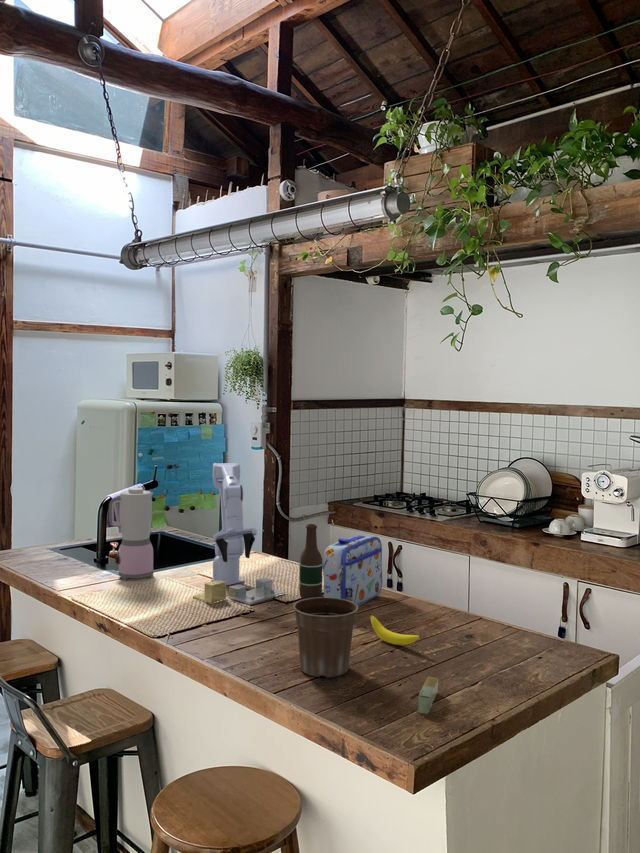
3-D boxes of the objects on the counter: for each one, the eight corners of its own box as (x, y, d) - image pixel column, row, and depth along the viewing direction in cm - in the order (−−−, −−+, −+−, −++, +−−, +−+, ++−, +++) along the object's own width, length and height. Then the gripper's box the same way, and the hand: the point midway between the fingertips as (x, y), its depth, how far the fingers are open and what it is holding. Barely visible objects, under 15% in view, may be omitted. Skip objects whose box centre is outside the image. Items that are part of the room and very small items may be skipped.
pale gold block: (192, 597, 245) (192, 579, 244) (207, 594, 249) (207, 576, 249) (211, 604, 238) (211, 585, 238) (225, 600, 243) (225, 582, 242)
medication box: (428, 715, 162) (429, 697, 162) (416, 713, 163) (417, 695, 163) (437, 693, 174) (438, 677, 173) (426, 691, 175) (427, 675, 174)
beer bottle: (319, 600, 244) (320, 527, 243) (296, 598, 246) (297, 526, 244) (324, 593, 252) (325, 523, 250) (301, 591, 254) (302, 521, 252)
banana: (415, 655, 197) (416, 632, 196) (365, 636, 211) (365, 614, 211) (423, 653, 199) (423, 629, 198) (372, 633, 213) (373, 612, 213)
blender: (150, 570, 277) (149, 485, 275) (157, 579, 266) (157, 490, 264) (106, 575, 271) (106, 487, 268) (112, 583, 260) (111, 492, 257)
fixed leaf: (229, 598, 245) (229, 586, 245) (264, 588, 257) (264, 577, 256) (249, 604, 238) (249, 593, 238) (285, 594, 250) (285, 583, 250)
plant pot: (320, 651, 198) (321, 592, 197) (369, 667, 188) (371, 604, 187) (279, 669, 186) (279, 606, 185) (329, 687, 176) (330, 620, 175)
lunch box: (346, 617, 227) (347, 546, 226) (317, 611, 233) (318, 541, 231) (385, 595, 251) (387, 530, 249) (358, 590, 256) (359, 527, 255)
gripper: (209, 519, 245) (210, 560, 239) (250, 512, 242) (253, 552, 237) (217, 526, 251) (218, 565, 245) (258, 518, 249) (260, 558, 243)
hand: (236, 559), depth 241 cm, fingers open, 7 cm apart
